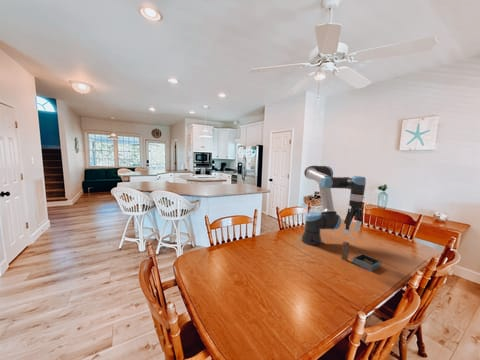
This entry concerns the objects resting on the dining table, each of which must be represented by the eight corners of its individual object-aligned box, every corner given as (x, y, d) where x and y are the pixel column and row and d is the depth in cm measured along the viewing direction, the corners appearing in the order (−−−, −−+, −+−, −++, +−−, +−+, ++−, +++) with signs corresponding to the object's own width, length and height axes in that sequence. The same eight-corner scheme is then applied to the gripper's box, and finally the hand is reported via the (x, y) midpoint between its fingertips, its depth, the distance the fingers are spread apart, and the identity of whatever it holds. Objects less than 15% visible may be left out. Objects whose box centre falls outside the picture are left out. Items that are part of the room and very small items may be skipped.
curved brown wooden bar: (341, 258, 135) (343, 241, 134) (343, 258, 137) (344, 241, 135) (345, 260, 133) (347, 243, 132) (347, 260, 134) (349, 242, 133)
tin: (352, 262, 131) (352, 257, 130) (361, 258, 137) (362, 253, 136) (371, 271, 121) (372, 266, 120) (380, 266, 127) (381, 261, 127)
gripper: (352, 204, 119) (348, 238, 122) (371, 199, 134) (367, 230, 136) (340, 201, 125) (336, 233, 128) (359, 197, 140) (355, 226, 142)
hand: (352, 232), depth 132 cm, fingers open, 13 cm apart
